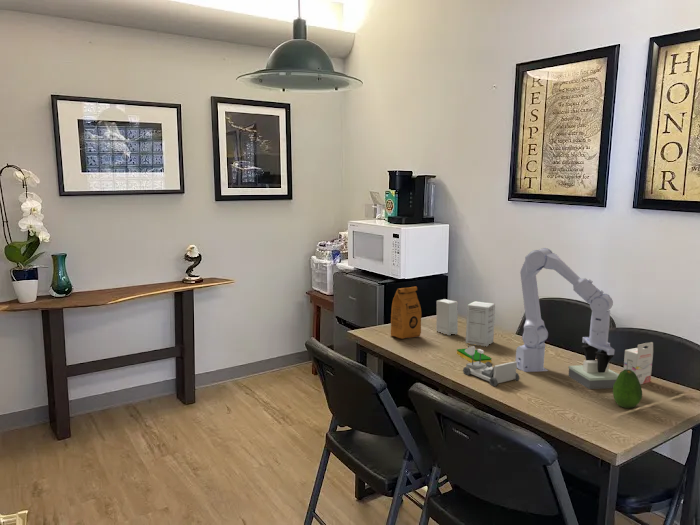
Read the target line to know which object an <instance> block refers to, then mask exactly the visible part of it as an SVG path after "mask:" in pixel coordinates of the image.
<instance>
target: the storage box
mask: <svg viewBox="0 0 700 525" xmlns="http://www.w3.org/2000/svg"><path fill="white" fill-rule="evenodd" d="M568 377H569V378H570V379H572V380H573V381H576V382H577V383H579V384H580V385H582V386H584V387H585V388H586V389H588V390H596V389H598V390H599V389H600V390H601V389H613V385H614V383H615V381H616V380H595V381H589V380H588V379H586V378H584V377H583V376H581V375H579V374H578V373H576V372H574V371H573V370H571V369H569V368H568Z"/></svg>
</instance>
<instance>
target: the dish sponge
mask: <svg viewBox="0 0 700 525" xmlns="http://www.w3.org/2000/svg"><path fill="white" fill-rule="evenodd" d="M467 348H468V347H467ZM467 348H459V349H458V348H457V349H456V355H457V354H458V355H457V356H459V355H460V356H459V357H461V358H462V357H463V359H464V358H465V359H464V360H466V361H468V362H469V361H470V362H469V363H472V355H469V354H467V353H466V352H465V350H466V349H467ZM492 359H493V358H492V357H490V356H488V355H486V354H484V353H483V354H481V363H484V364H485V363H486V362H490V363H491V364H492ZM478 361H480V353H478V351H477V349H475V353H474V357H473V362H478Z"/></svg>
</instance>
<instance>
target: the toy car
mask: <svg viewBox="0 0 700 525" xmlns="http://www.w3.org/2000/svg"><path fill="white" fill-rule="evenodd" d="M466 345H467V349H466V348H465V349H466V350H465V352H466V353H467V354H469V355H472V363H471V362H469V363H466V366H464V367H463V369H462V372H463V374H464V375H467V376H470V375H473V376H475V377H478V378H480V379H482V380H484V381H487V382H489V385H491V387H495V388H496V387H497V386H498V385H499V384H500V383H501V384H502V383H505V382H509V381H512V380H513V381H515V380H516V381H515V382H518V381H519V380H520V375H519V373H518V372H517V367H516V366H517V362H515V361H516V360H515V361H510V362H505V363H501V364H496V365H494V366H493V365H492V362H491V363H490V362H486V363H485V364H484V363H481V354H484V353H485V351H484V350H483V349H481V348H477V349H476V347H475V346H476V345H471V346H469V344H466ZM475 350H477V351H478V353H480V361H478V362H473V357H474V353H475Z"/></svg>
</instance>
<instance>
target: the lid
mask: <svg viewBox="0 0 700 525" xmlns="http://www.w3.org/2000/svg"><path fill="white" fill-rule="evenodd" d="M567 368H568V370H569V369H571V370H573V371H574V372H576V373H578V374H579V375H581V376H583V377H584V378H586V379H588V380H589V381H595V380H616V379H617V377H618V375H619V374H620V373H619V372H615V371H614V370H612V369H610V362H609V363H608V365H607V367H606V370H605V372H604V373H599V372H598V362H597V359H595V360H586V359H584V360H583V364H580V365H568V367H567Z"/></svg>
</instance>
